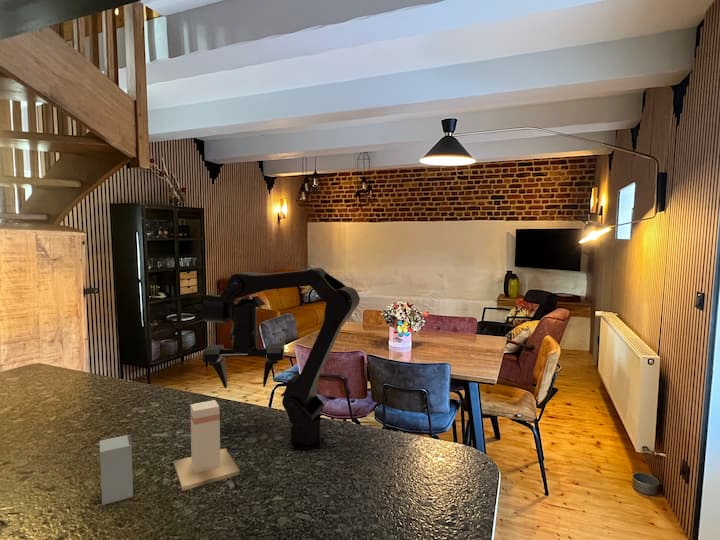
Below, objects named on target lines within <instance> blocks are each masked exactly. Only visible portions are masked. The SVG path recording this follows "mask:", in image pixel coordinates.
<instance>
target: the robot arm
mask: <svg viewBox="0 0 720 540" xmlns="http://www.w3.org/2000/svg"><path fill="white" fill-rule="evenodd" d="M227 281H228V282H227V286H226V287H225V289H224V290H223V291H222V293H221V294H215V293H210V294H206V295H205V300H204V302H203V303H202V305H201V309H200V316H201V319H202V320H203V321H204V322H208V323H222V324H229V323H230V322H231V321H232V325H231V326H232V327H231V329H230V334H229V341H230V343H232V348H225V347H224V344H209V345H208V346H207V347H206V348H205V349H204V350H203V351H202V362H203V363H208V366H212V367H213V369H214V370H215V372H216V374H217V375H218V377H219V379H220V381H221V385H222V386H223V388H224V389H227V388H228V378H227V377H228V376H227V368H226V358H228V357H229V358H230V357H266V359H265V362H264V371H263V377H262V378H263V381H262V384H263V386H262V387H263V388H265V387H266V385H267V381H268V379H269V375H270V372H271V370H272V367H273V366H274V365H277V364H279V363H278V362H279V361H283V360H284V357H285V345H284V344H283V343H268V344H267V347H260V348H259V333H258V331H257V329H258V328H257V324H258V323H257V318H258V317H257V308H260V307H262V306H265V305H266V302H265V301H264V300H262V299H261V298H260V296H259V295H255V294H259V293H262V292H263V293H264V292H266V291H269V290H278V289H290V288H299V287H309V286H310V288H312V289H313V290H314V292H315V293H316V295H318V297H319V298H320V299H321V300H322V301H324V303H326V304H325V308H324V311H323V312H324V315H323V323H322V325H321V327H320V330H319V332H318V335H317V336H316V339H315V341H314V343H313V346H312V348H311V350H310V353H309V354H308V356H307V359H306V361H305V362H304V366H303V368H302V369H301V372H300V373H299V372H298V373H296V374H295V375H293V376H292V377H291V378H290V379H288V381H287V383H286V386H285V390H284V391H283V392H282V393H281V395H280V396H281V397H282V400H281V405H282V406H283V409H284V410H285V412H286V414H287V416H288V421H289V423H290V443H291V444H292V450H311V449H313V450H315V449H322V440H321V413H322V412H323V410H324V408H325V403H324V402H323V400H321V399H320V397H319V396H318V394H317V391H318V388H319V385H318V384H319V378H320V375H321V373H322V371H323V369H324V366H325V364H326V362H327V359H328V358H329V355H330V354H331V351H332V349H333V347H334V344H335V343H336V340H337V338H338V336H339V333H340V331H341V329H342V327H343V326H344V324H345V323H346V322H347V321H348V320H349V319H350V317H351V316H352V314H353V313H354V312H355V311H356V309H357V307H358V306H359V304H360V300H361V299H360V296H359V293H358V291H357V290H356V289H355V288H353V287H351V286H347V285H345V284H344V283H343V282H342V281H340V280H339V279H337V278H335V277H334V276H333V275H330V274H329V273H328V272H327V271H326V270H325V269H324V268H322V267H314V268H309V269H304V270H303V269H302V270H295V271H285V272H277V273H266V272H259V271H244V272H238V273H234V274H232V275H230V277H229V279H228V280H227ZM253 295H255V296H253ZM249 296H253V297H252V298H244V297H249ZM238 299H240V300H238ZM235 300H238V301H235Z"/></svg>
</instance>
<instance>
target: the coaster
mask: <svg viewBox="0 0 720 540" xmlns="http://www.w3.org/2000/svg"><path fill="white" fill-rule="evenodd" d="M172 462H173V463H172V464H173V467H174V470H175V473H176V475H177V476H176V477H177V479H178V481H179V484H180V488H181V490H182V491H183V492H185V491H186V490H191V489H194V488H197V487H201V486H204V485H208V484H211V483H215V482H218V481H222V480H225V479H230V478H232V477H235V476H239V475H240V473H241V472H240V471H241V470H240V469H239V467H238V466H237V464H236V463H235V461H234V459H233V458H232V456H231V455H230V453H229V452H228V449H227V448H226V447H225V448H220V467H218V468H214V469H210V470H206V471H203V472H199V473H195V472H194V469H193V466H192V456H188V457H184V458H180V459H177V460H173V461H172Z"/></svg>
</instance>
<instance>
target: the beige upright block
mask: <svg viewBox="0 0 720 540" xmlns="http://www.w3.org/2000/svg"><path fill="white" fill-rule="evenodd" d="M189 407H190V409H189V410H190V441H191V443H190V444H191V445H190V446H191V447H190V449H191V450H190V451H191V452H190V453H191V457H192V466H193V469H194V472H195V473H199V472H203V471H206V470H210V469H214V468H218V467H220V449H221V428H220V426H221V422H220V421H221V420H220V419H221V418H220V417H221V416H220V415H221V413H220V405H219V403H218V402H217V401H216V399H214V400H213V399H212V400H208V401H201V402H196V403H192V404H191V403H190V406H189Z"/></svg>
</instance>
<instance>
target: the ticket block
mask: <svg viewBox="0 0 720 540" xmlns="http://www.w3.org/2000/svg"><path fill="white" fill-rule="evenodd" d="M132 450H133V449H132V441H131V436H130V434H125V435H120V436H117V437H111V438H107V439H103V440H101V439H100V440H99V459H100V460H99V462H100V487H101V488H100V489H101V506H105V505H108V504H112V503H115V502H119V501H122V500H127V499H130V498H133V497H134V486H133V484H134V483H133V482H134V481H133V479H134V478H133V451H132Z"/></svg>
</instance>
